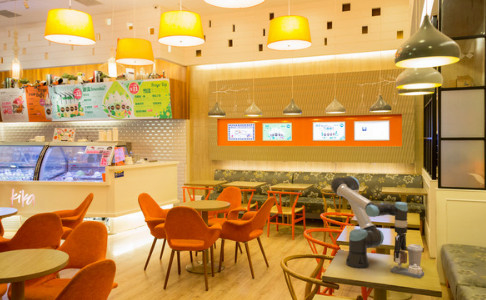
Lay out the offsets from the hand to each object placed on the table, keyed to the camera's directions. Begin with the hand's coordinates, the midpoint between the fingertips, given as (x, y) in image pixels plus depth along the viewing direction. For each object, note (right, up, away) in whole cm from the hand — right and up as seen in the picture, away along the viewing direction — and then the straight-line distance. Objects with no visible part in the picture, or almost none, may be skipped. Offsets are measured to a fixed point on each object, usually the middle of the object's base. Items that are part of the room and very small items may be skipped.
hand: (400, 261), depth 255 cm
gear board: (+3, -7, -3) cm, 8 cm away
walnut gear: (0, 0, 0) cm, 0 cm away
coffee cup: (+13, -7, +8) cm, 17 cm away
